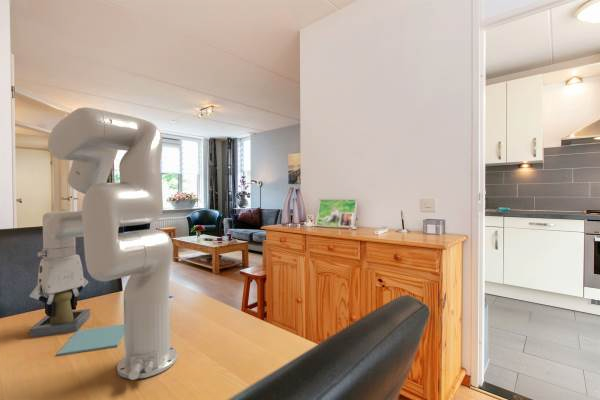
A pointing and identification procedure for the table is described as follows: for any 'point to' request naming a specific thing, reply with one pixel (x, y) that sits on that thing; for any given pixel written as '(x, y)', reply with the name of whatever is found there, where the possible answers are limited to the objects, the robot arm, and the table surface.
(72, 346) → the rubber mat
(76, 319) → the square socket
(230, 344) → the table surface
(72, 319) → the cork
